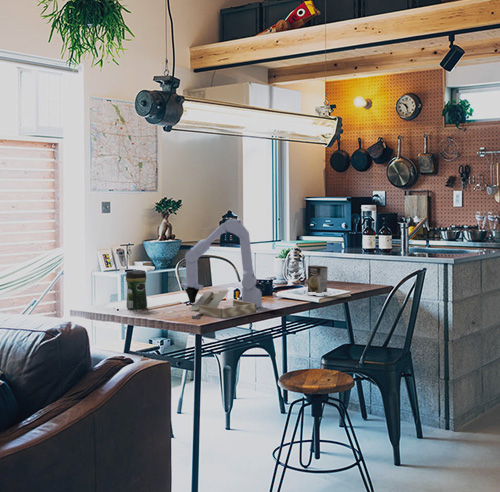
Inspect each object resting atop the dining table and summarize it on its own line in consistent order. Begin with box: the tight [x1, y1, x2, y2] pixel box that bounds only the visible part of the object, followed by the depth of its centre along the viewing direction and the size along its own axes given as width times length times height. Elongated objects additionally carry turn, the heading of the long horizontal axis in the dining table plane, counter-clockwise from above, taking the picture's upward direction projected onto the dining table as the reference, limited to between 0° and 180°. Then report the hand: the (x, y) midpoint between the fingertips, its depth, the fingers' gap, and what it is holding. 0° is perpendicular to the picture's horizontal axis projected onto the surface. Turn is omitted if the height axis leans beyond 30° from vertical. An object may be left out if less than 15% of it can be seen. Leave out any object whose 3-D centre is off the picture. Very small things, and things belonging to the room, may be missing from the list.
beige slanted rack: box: [188, 289, 230, 312], centre depth 328 cm, size 16×9×15 cm
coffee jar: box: [125, 269, 148, 310], centre depth 332 cm, size 10×8×19 cm
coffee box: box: [307, 265, 328, 293], centre depth 373 cm, size 9×6×16 cm
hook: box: [191, 313, 204, 320], centre depth 308 cm, size 10×3×1 cm, turn 157°
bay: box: [198, 299, 257, 319], centre depth 318 cm, size 22×15×4 cm
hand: (192, 302), depth 337 cm, fingers closed
